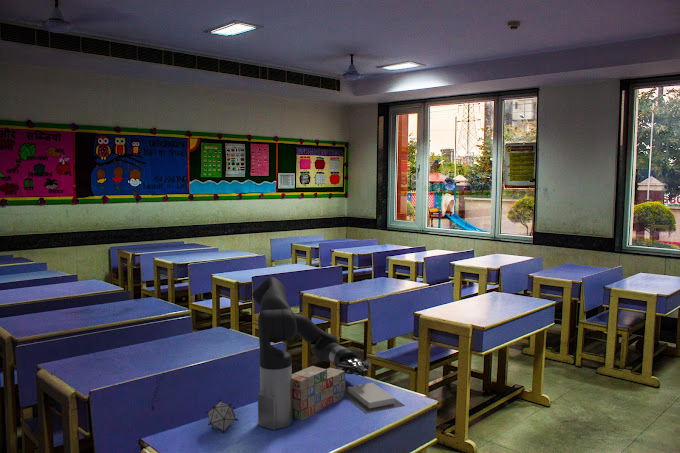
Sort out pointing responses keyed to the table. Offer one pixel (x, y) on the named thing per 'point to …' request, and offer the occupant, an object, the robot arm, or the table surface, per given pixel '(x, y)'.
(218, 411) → the game die
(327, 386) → the stack of blocks
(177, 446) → the table surface
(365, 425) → the table surface
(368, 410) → the mat
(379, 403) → the tile
